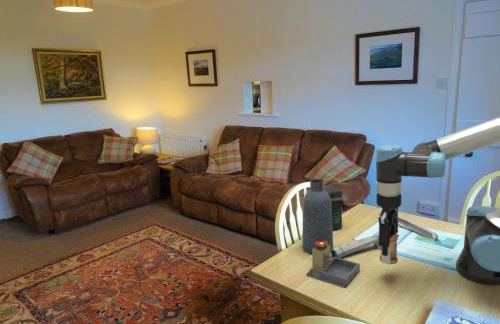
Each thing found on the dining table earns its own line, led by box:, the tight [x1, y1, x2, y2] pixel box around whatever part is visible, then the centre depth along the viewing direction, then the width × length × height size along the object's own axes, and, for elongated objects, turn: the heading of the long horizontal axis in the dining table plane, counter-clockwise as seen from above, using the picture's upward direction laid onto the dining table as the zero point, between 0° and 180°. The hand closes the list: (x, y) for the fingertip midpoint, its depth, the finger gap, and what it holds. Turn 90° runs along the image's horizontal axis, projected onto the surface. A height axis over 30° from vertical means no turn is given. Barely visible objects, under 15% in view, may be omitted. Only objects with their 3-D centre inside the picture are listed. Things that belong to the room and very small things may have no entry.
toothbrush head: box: [330, 230, 381, 259], centre depth 141 cm, size 5×7×25 cm
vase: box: [301, 178, 334, 255], centre depth 143 cm, size 12×12×28 cm
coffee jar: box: [324, 185, 343, 231], centre depth 163 cm, size 10×8×19 cm
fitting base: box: [306, 239, 361, 289], centre depth 126 cm, size 14×13×11 cm
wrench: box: [376, 204, 439, 241], centre depth 159 cm, size 8×2×30 cm
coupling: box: [379, 232, 399, 265], centre depth 121 cm, size 6×6×9 cm
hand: (388, 258), depth 122 cm, fingers closed on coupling, 6 cm apart
